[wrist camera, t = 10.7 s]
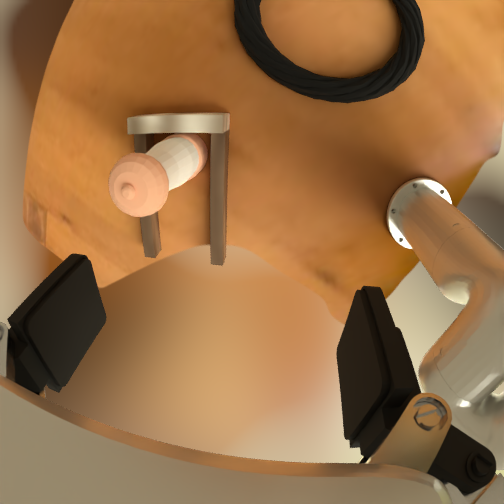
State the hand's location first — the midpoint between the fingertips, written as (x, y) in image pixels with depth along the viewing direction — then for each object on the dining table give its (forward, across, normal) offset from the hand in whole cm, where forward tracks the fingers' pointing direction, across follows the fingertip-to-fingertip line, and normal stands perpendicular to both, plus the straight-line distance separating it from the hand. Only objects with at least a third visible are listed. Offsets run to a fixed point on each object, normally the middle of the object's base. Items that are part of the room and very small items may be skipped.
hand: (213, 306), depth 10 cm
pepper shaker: (+36, +13, +2) cm, 38 cm away
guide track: (+36, +13, +8) cm, 39 cm away
